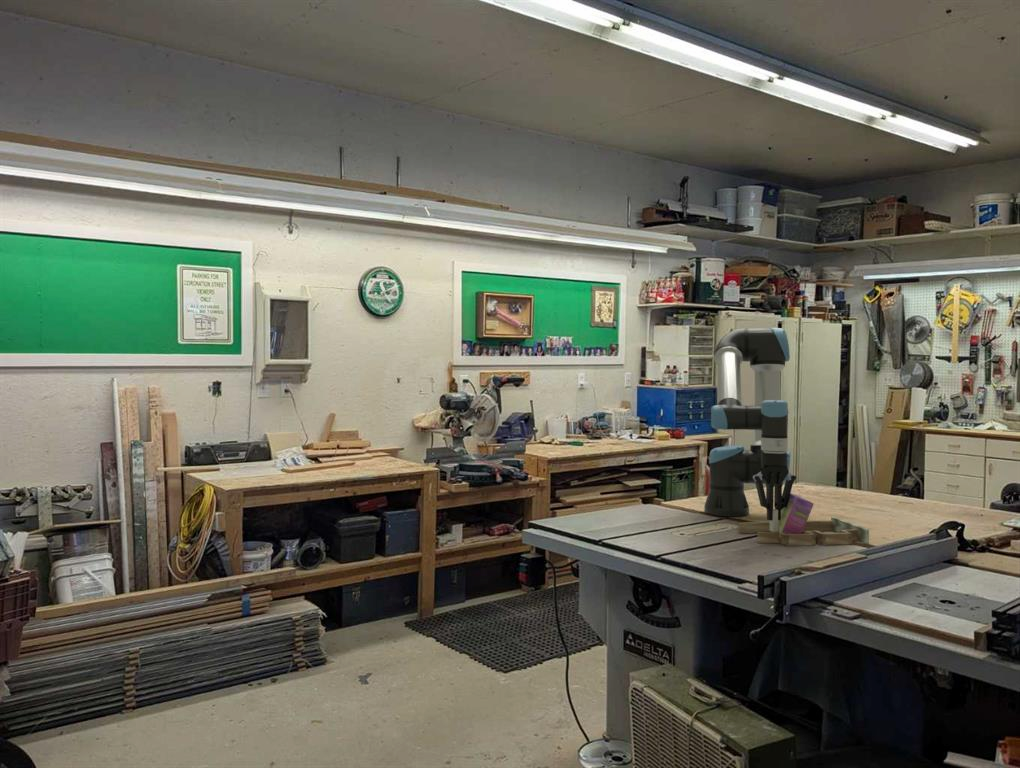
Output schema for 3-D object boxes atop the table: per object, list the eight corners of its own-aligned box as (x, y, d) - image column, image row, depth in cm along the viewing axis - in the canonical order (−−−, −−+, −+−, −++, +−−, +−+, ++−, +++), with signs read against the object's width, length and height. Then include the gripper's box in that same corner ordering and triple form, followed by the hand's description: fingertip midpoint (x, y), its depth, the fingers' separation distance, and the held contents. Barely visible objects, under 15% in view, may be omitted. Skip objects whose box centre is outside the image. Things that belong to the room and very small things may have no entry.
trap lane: (738, 532, 236) (738, 519, 235) (834, 529, 239) (834, 517, 239) (764, 546, 217) (764, 532, 217) (868, 543, 220) (868, 529, 220)
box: (799, 540, 224) (814, 503, 223) (781, 533, 224) (795, 496, 224) (789, 533, 234) (803, 497, 234) (771, 526, 234) (785, 490, 234)
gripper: (758, 453, 224) (757, 533, 224) (801, 453, 225) (800, 533, 225) (748, 450, 232) (747, 528, 232) (789, 450, 233) (788, 528, 233)
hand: (773, 531), depth 229 cm, fingers closed
